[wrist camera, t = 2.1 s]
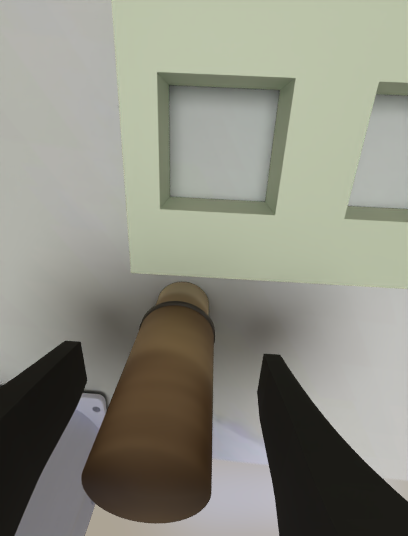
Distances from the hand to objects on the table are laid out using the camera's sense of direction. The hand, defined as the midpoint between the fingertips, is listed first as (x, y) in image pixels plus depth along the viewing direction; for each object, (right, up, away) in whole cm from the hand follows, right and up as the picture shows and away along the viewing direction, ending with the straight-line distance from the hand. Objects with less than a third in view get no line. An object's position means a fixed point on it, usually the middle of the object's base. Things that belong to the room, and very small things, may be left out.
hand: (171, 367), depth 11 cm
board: (+6, +9, +1) cm, 10 cm away
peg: (0, +2, +4) cm, 5 cm away
